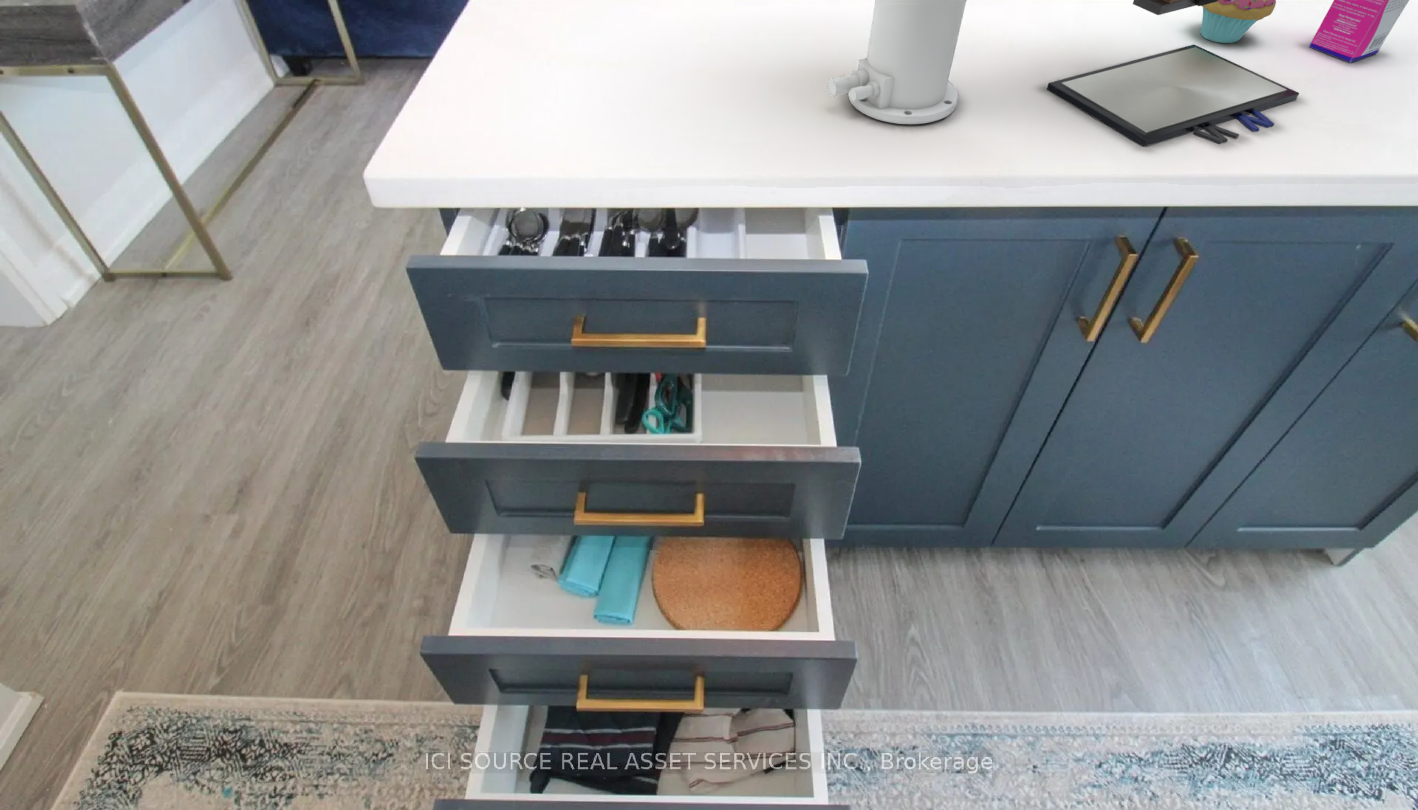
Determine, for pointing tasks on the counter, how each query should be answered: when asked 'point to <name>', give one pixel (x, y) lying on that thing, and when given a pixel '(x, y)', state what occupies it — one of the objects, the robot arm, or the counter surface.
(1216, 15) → the cupcake
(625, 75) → the counter surface
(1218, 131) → the scribble
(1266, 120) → the scribble
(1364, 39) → the supplement box
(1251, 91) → the whiteboard
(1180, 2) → the eraser
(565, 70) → the counter surface
